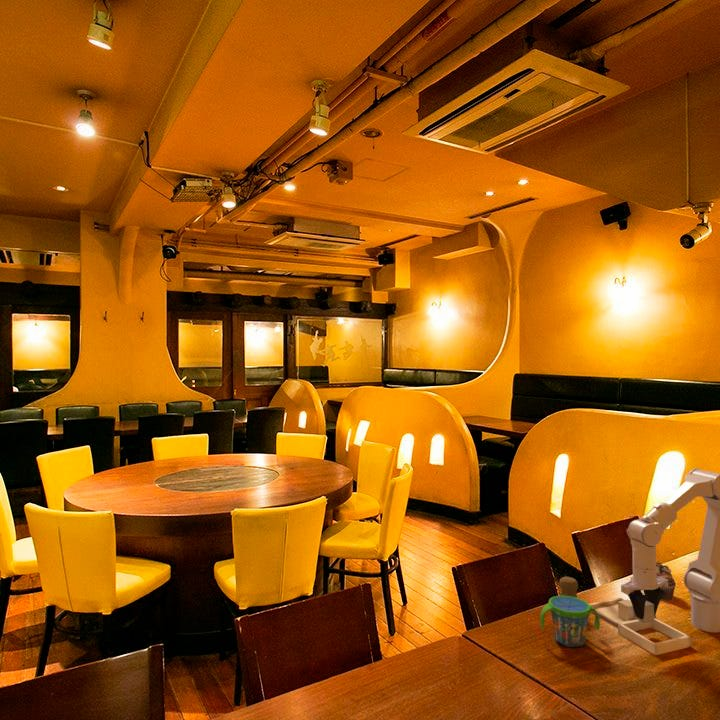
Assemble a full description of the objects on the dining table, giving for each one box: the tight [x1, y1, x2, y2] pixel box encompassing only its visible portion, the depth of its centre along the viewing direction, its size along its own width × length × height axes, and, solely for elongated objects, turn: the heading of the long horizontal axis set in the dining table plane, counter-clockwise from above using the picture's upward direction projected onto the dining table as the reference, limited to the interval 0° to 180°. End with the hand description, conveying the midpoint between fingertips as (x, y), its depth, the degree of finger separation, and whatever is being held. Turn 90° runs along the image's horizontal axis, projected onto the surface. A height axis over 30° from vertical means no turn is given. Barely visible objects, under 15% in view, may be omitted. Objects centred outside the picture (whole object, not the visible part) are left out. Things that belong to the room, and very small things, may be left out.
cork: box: [558, 576, 579, 598], centre depth 157 cm, size 6×6×11 cm
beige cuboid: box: [618, 599, 635, 621], centre depth 153 cm, size 4×4×4 cm
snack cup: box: [539, 595, 601, 648], centre depth 143 cm, size 16×10×10 cm
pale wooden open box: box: [617, 618, 692, 656], centre depth 141 cm, size 12×12×4 cm
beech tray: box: [588, 597, 657, 629], centre depth 156 cm, size 14×13×2 cm
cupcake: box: [656, 561, 677, 602], centre depth 170 cm, size 10×10×10 cm
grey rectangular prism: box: [633, 601, 654, 623], centre depth 144 cm, size 4×4×4 cm
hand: (645, 616), depth 143 cm, fingers closed on grey rectangular prism, 4 cm apart
